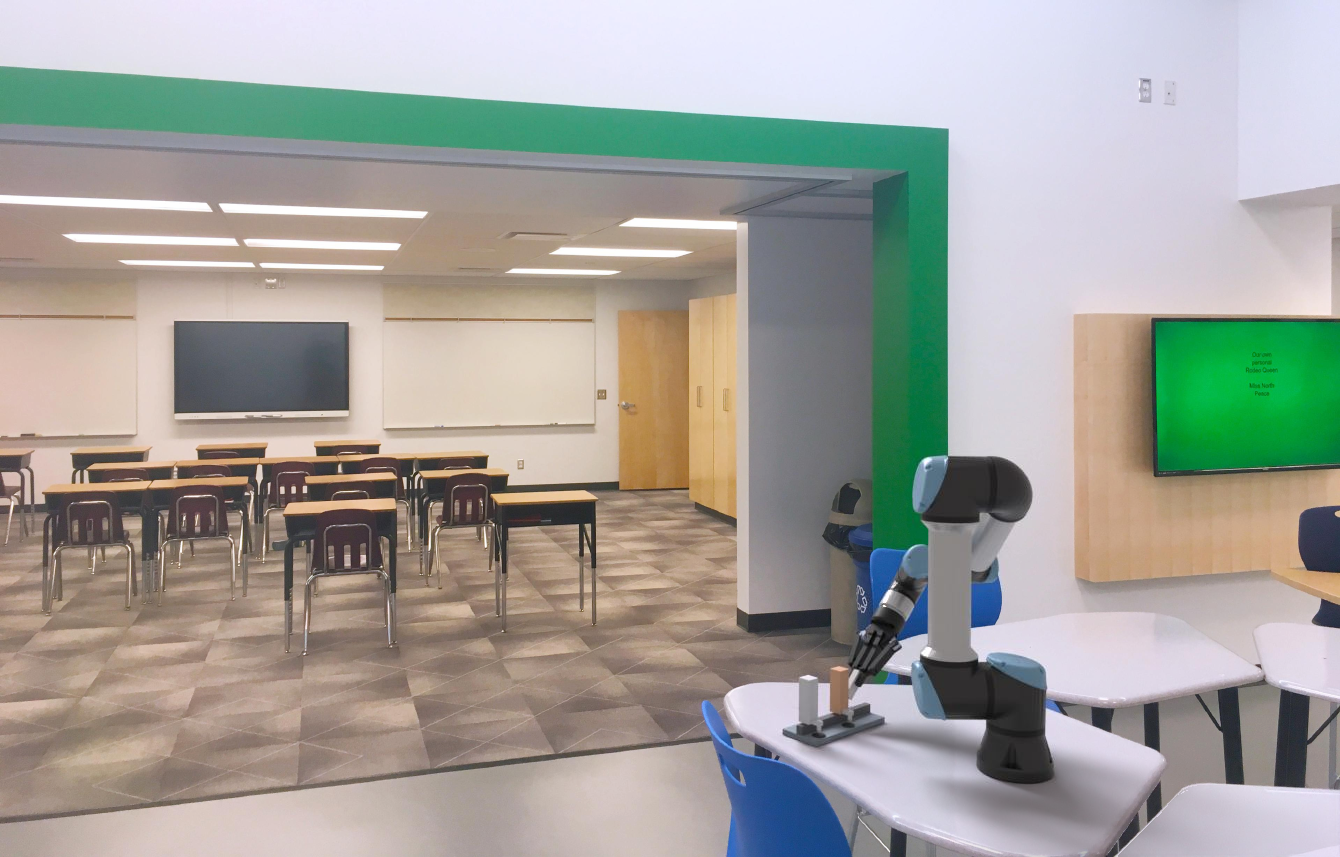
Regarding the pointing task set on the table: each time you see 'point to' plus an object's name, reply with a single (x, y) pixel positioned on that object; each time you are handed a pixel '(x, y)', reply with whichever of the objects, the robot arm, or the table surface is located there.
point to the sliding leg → (840, 691)
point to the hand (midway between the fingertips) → (846, 695)
